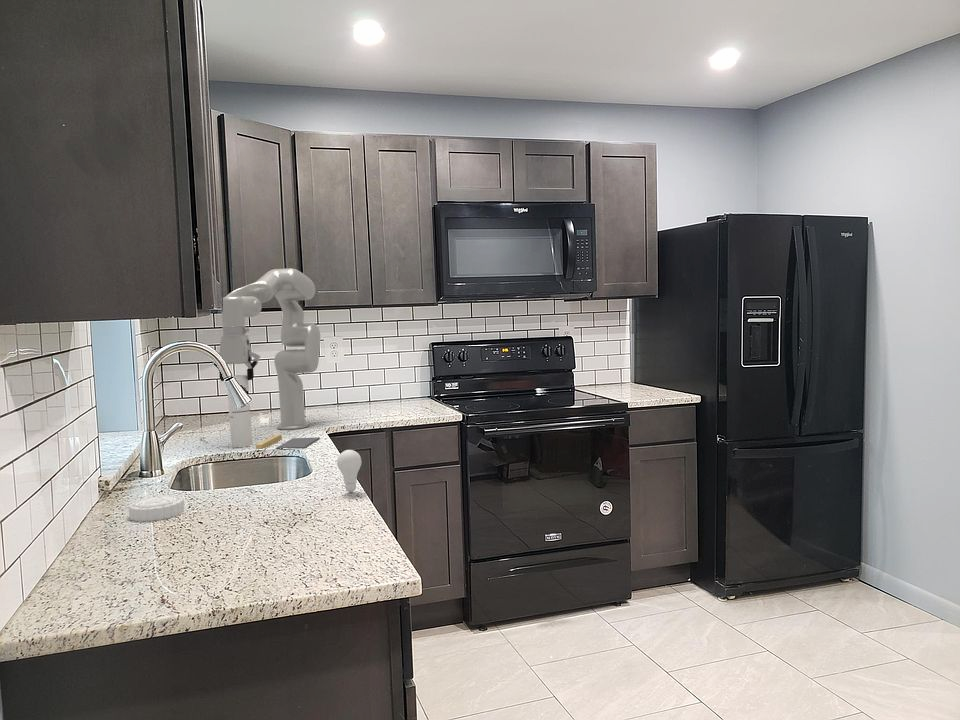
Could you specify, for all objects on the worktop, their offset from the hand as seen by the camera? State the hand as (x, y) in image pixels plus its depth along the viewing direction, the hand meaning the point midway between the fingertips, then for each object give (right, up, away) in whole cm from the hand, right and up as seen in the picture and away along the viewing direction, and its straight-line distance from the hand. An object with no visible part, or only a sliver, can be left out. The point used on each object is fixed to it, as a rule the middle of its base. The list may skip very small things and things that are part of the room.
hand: (236, 380), depth 257 cm
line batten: (+11, -23, +1) cm, 26 cm away
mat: (+22, -23, +1) cm, 31 cm away
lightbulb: (+53, -27, -72) cm, 93 cm away
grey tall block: (+1, -24, +2) cm, 24 cm away
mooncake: (+9, -30, -84) cm, 89 cm away
